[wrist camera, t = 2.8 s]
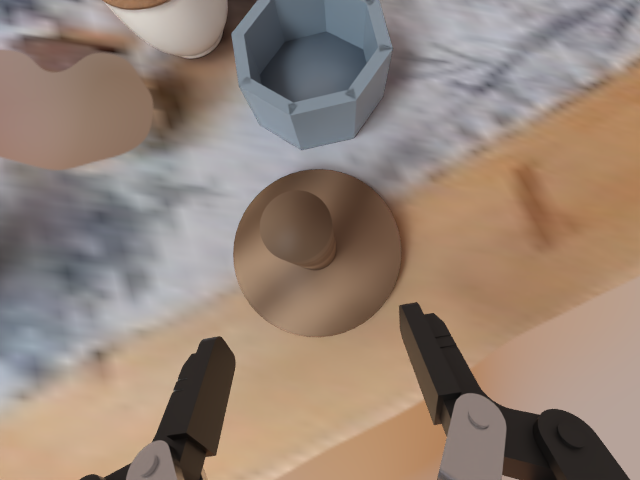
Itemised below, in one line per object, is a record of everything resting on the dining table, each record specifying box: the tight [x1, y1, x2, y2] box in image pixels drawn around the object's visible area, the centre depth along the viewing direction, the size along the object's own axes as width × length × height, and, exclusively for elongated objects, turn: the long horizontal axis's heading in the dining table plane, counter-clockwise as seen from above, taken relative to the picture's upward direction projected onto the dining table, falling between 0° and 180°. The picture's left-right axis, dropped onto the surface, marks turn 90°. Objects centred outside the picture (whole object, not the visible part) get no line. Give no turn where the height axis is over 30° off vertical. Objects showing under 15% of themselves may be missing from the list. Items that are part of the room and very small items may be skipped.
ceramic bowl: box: [231, 0, 393, 150], centre depth 22 cm, size 12×12×5 cm
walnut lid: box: [233, 169, 401, 337], centre depth 18 cm, size 14×14×10 cm
